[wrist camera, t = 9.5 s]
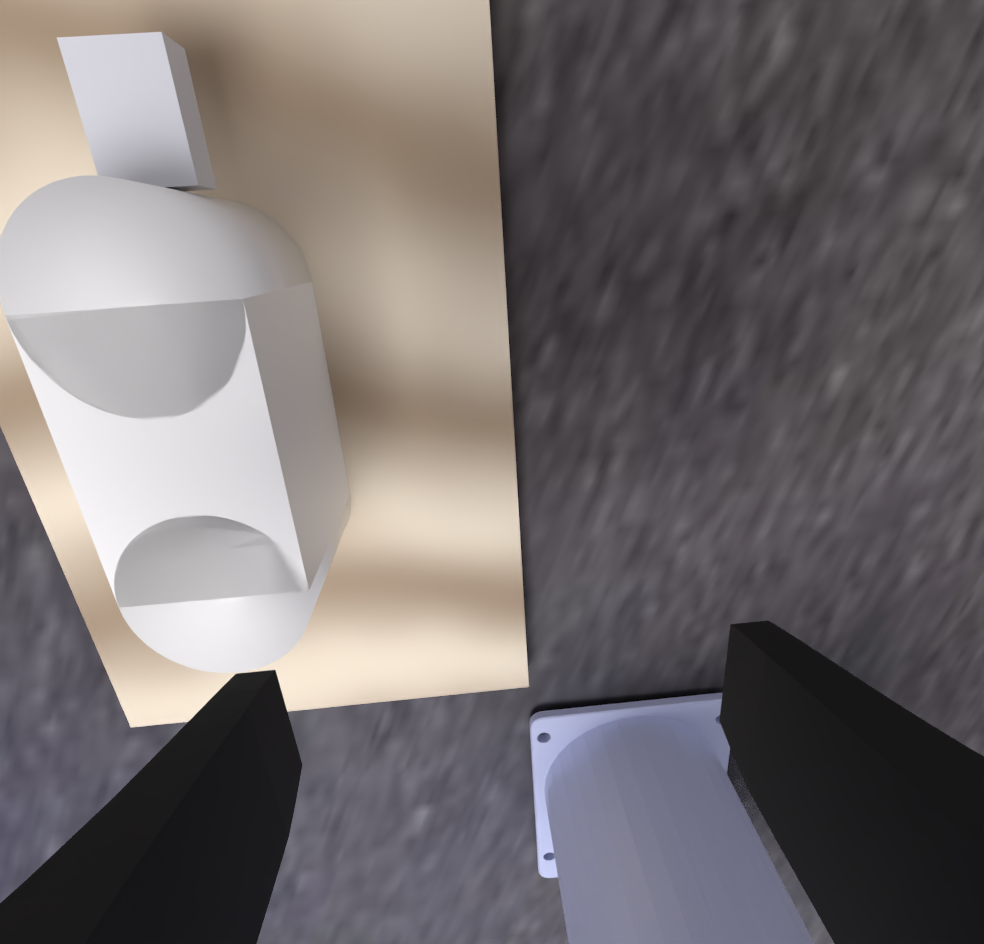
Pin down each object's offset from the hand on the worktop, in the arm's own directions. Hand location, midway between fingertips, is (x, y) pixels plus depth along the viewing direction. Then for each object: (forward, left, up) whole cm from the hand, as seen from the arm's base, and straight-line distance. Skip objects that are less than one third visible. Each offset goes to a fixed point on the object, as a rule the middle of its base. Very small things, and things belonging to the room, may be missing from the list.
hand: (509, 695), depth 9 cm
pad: (+3, +6, -9) cm, 12 cm away
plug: (+4, +6, -8) cm, 11 cm away
